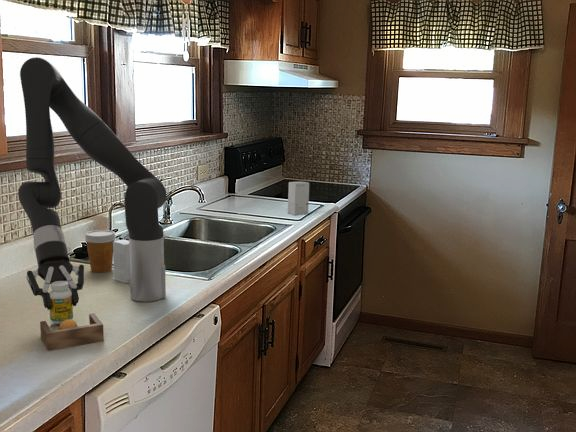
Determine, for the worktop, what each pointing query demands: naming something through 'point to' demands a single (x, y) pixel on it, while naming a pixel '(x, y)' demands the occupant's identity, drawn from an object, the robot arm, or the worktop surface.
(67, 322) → the ball
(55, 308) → the supplement bottle
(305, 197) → the skincare box
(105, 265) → the disposable coffee cup
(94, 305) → the worktop surface
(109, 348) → the worktop surface
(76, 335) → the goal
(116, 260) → the skincare box
